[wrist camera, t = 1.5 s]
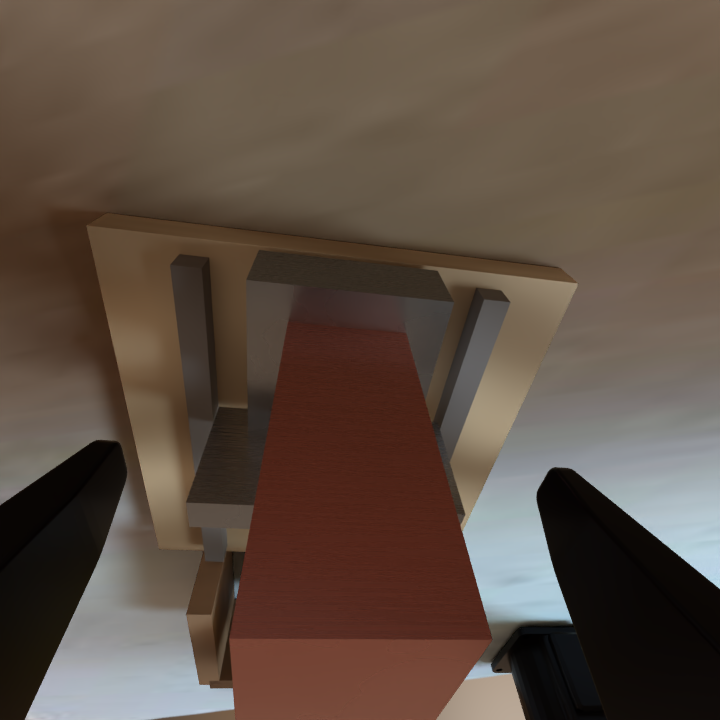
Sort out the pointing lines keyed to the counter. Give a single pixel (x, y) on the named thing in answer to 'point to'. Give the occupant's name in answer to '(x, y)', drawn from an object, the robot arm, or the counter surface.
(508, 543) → the counter surface
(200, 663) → the open wooden crate
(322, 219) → the counter surface
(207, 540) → the wooden board with rails
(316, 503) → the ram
